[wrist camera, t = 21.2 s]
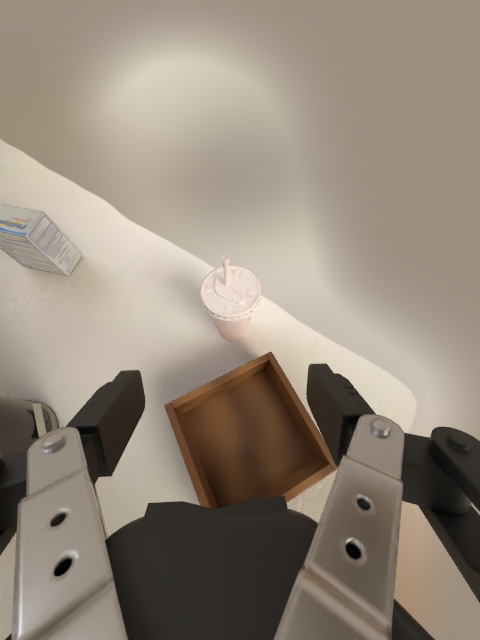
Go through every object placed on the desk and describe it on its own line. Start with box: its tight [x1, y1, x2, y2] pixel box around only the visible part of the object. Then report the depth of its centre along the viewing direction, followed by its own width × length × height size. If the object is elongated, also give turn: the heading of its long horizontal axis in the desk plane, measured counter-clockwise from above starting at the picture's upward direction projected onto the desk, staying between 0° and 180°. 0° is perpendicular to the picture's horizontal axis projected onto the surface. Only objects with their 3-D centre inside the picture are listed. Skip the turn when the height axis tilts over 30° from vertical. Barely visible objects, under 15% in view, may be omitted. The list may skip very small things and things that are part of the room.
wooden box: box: [165, 352, 339, 509], centre depth 26 cm, size 12×12×5 cm
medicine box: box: [0, 204, 82, 276], centre depth 35 cm, size 8×4×9 cm, turn 77°
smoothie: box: [200, 256, 261, 340], centre depth 28 cm, size 6×6×14 cm
